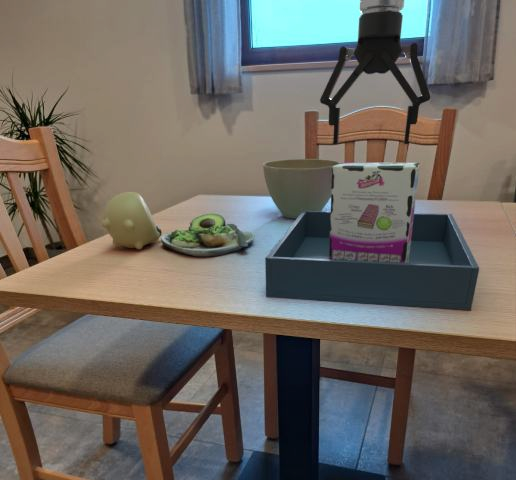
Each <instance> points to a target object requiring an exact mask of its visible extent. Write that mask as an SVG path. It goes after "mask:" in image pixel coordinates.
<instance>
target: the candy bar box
mask: <svg viewBox="0 0 516 480" xmlns="http://www.w3.org/2000/svg"><path fill="white" fill-rule="evenodd" d="M419 172H420V162H340V163H339V164H337V165H335V166H333V167H332V181H331V184H332V185H331V198H330V211H331V217H330V245H329V259H333V260H354V261H376V262H398V263H409V254H410V246H411V236H412V228H413V218H414V213H415V208H416V201H417V191H418V181H419Z"/></svg>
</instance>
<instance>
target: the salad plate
mask: <svg viewBox="0 0 516 480" xmlns="http://www.w3.org/2000/svg"><path fill="white" fill-rule="evenodd" d="M189 225H190V226H189V227H188V229H185V230H179V229H175V231H171V232H168V233H165V234H163V235H161V236H160V241H161V244H162V245H163V246H164V247H166V248H167V249H170V250H172V251H175V252H176V253H180V254H184V255H189V256H193V257H218V256H222V255H226V254H229V253H235V252H238V251H240V250H241V249H243V248H247V247H249V244H250V243H252V241H253V240H254V239H255V234H254V233H252V232H249V231H244V230H241V229H239V228H238V226H237V225H236V224H235V223H227V222H226V219H225V218H224V216H222V215H220V214H219V213H207V214H206V213H205V214H201V215H199V216H197V217H195V218H193V219H192V220H191V222H189Z"/></svg>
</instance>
